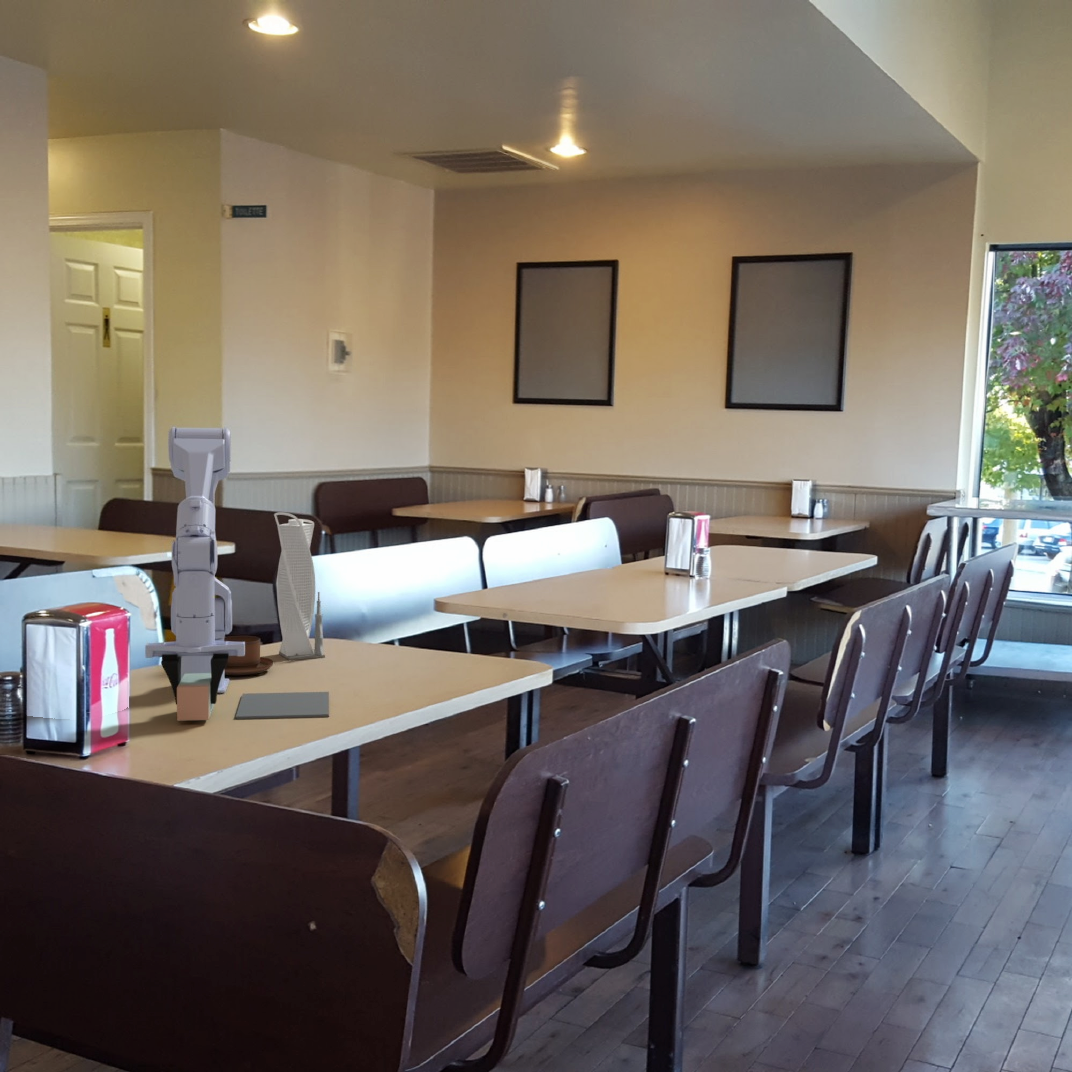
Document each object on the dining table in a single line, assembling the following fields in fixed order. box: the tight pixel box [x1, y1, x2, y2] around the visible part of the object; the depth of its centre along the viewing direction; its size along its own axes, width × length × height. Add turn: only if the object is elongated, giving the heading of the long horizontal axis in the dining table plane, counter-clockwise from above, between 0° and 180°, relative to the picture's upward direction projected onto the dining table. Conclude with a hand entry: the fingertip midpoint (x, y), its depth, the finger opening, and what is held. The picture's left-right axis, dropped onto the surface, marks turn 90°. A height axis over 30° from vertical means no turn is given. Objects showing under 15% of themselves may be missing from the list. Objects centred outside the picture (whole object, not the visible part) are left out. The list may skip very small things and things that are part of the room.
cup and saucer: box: [224, 635, 274, 676], centre depth 221 cm, size 12×12×6 cm
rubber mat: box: [235, 691, 330, 720], centre depth 195 cm, size 16×14×1 cm
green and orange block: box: [176, 673, 215, 721], centre depth 187 cm, size 10×4×5 cm, turn 10°
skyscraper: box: [273, 511, 326, 661], centre depth 236 cm, size 8×8×28 cm
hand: (196, 702), depth 187 cm, fingers closed on green and orange block, 4 cm apart
